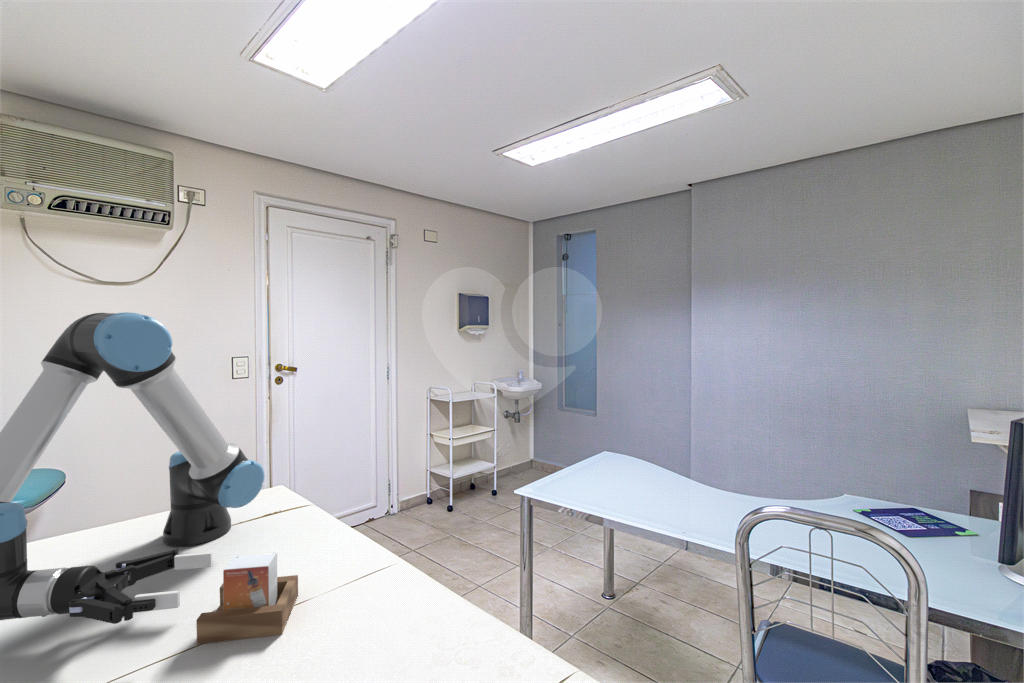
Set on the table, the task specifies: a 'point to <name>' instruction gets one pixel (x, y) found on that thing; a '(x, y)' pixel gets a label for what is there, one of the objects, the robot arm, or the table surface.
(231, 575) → the small box
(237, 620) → the rack
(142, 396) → the robot arm
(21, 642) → the table surface
